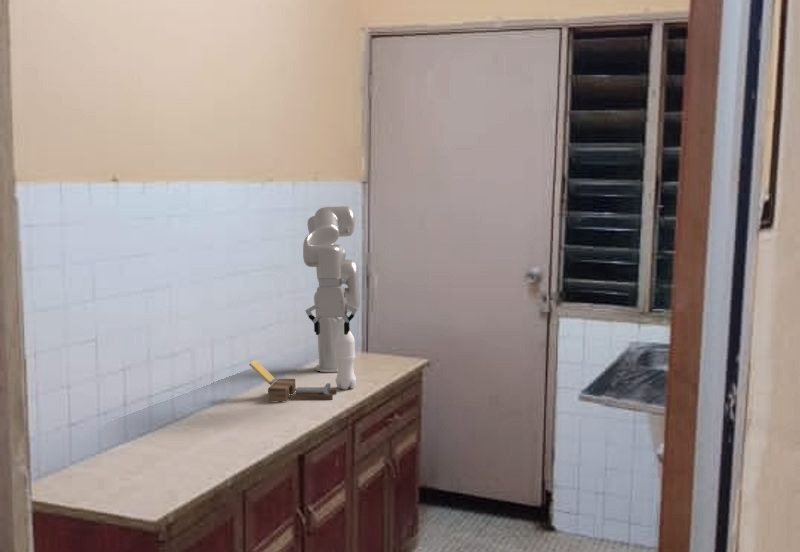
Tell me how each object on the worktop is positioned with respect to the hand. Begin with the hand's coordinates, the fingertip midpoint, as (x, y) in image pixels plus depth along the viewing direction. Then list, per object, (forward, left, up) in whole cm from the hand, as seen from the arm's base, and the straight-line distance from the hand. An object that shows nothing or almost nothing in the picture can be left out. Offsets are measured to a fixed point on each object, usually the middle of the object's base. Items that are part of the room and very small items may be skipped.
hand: (332, 334), depth 285 cm
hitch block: (-1, -11, -22) cm, 24 cm away
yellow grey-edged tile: (-1, -25, -13) cm, 28 cm away
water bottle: (-13, +2, -22) cm, 26 cm away
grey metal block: (-1, -8, -22) cm, 23 cm away
